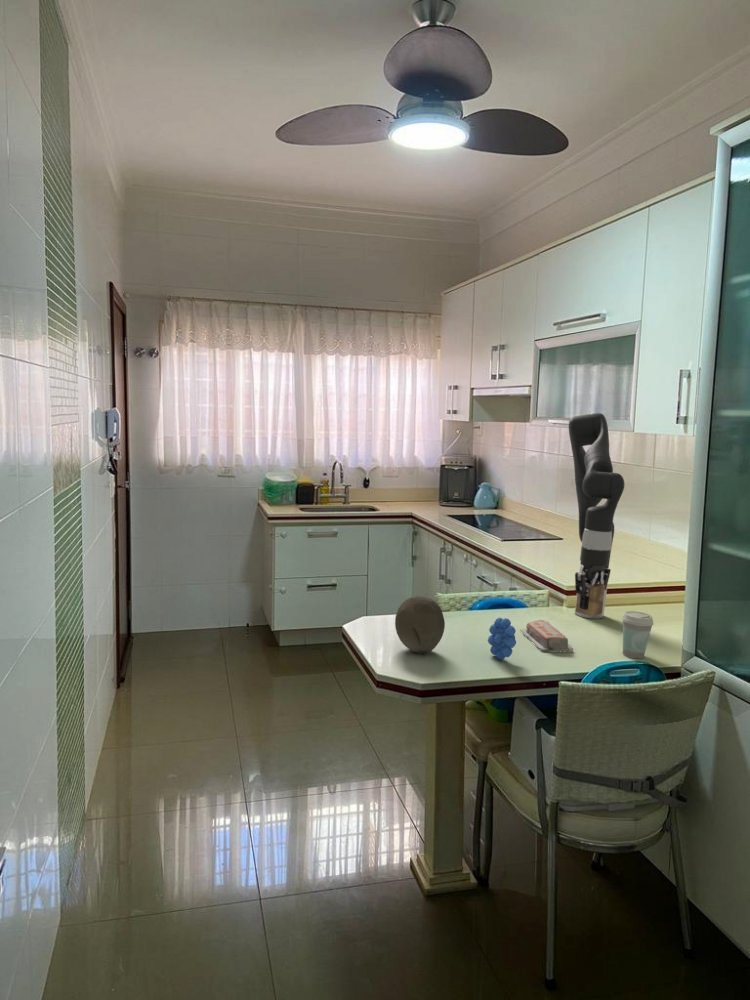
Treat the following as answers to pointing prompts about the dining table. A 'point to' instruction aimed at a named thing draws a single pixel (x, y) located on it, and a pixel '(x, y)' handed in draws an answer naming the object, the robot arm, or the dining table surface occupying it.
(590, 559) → the robot arm
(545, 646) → the packaged product
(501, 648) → the grapes
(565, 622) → the dining table surface
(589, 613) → the walnut block
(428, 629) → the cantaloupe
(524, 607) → the dining table surface
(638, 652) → the coffee cup
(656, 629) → the dining table surface
